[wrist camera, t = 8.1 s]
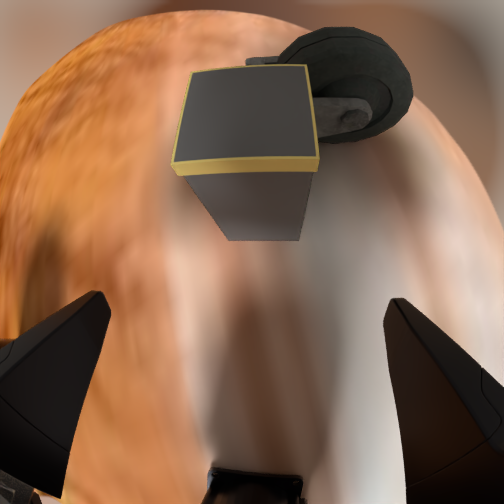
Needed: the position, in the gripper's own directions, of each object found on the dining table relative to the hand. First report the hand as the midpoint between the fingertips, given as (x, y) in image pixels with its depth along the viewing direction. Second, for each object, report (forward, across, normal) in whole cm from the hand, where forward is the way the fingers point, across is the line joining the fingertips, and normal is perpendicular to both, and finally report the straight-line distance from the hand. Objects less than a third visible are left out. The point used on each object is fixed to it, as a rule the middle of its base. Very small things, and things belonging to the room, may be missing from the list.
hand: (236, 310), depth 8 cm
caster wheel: (+16, -2, -3) cm, 17 cm away
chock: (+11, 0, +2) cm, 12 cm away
